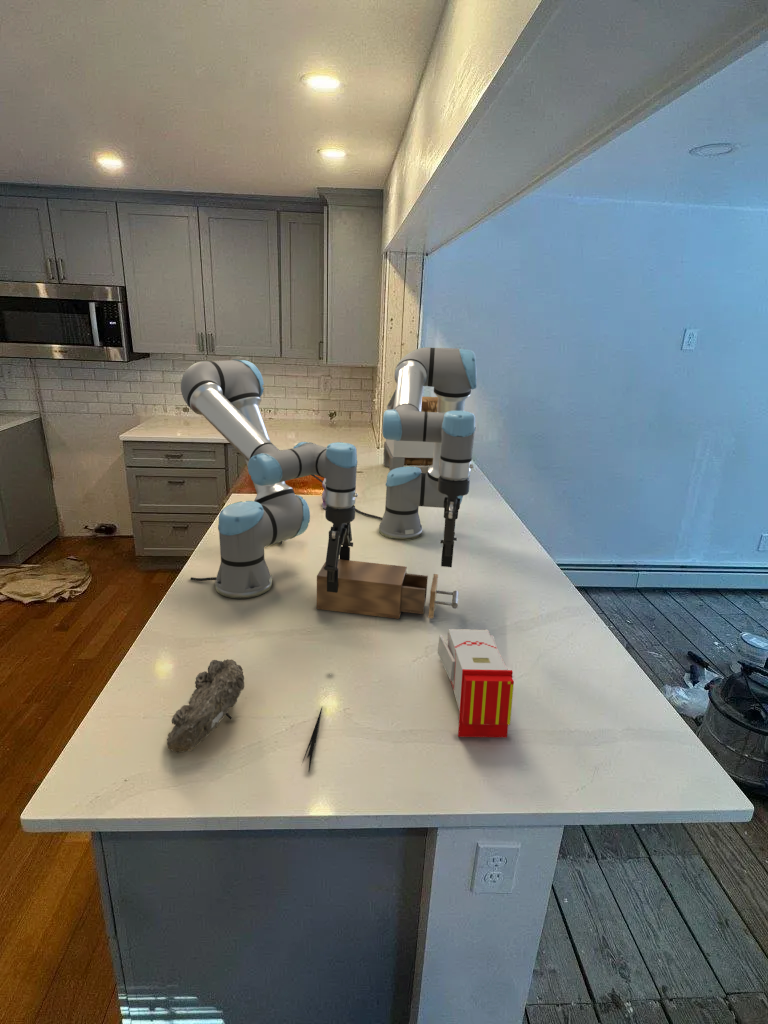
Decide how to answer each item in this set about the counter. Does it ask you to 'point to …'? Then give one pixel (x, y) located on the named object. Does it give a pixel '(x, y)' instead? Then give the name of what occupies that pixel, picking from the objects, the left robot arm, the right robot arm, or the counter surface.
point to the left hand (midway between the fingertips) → (338, 579)
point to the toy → (478, 682)
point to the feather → (313, 740)
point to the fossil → (206, 705)
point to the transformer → (410, 443)
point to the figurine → (324, 494)
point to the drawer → (422, 594)
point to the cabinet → (363, 589)
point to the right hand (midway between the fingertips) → (446, 565)
